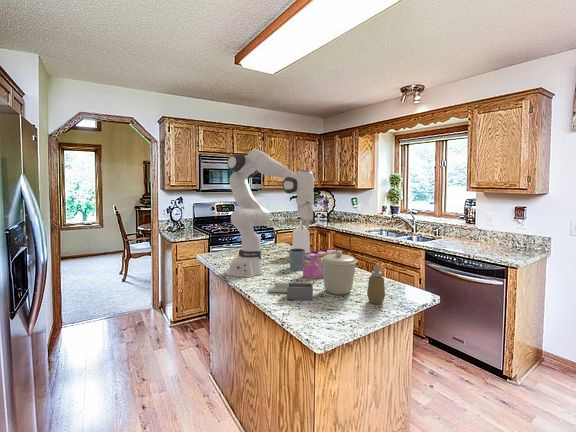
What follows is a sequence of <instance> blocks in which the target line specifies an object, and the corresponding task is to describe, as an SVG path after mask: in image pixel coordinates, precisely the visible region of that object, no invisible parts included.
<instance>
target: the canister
mask: <svg viewBox="0 0 576 432" xmlns="http://www.w3.org/2000/svg"><path fill="white" fill-rule="evenodd" d="M321 261H322V269H323V276H322V278H323V285H324V289H325V291H326V292H327V293H329V294H331V295H340V296H341V295H347V294H349V293H351V291H352V289H353V285H354V284H353V283H354V279H355V272H356V271H355V270H356V264H357V263H358V260H357V259H356V258H355V257H353V256H351V255H348V254H343V251H342V250H338V249H337V250H336V252H335V254H331V255H326V256H324V257H322V258H321Z"/></svg>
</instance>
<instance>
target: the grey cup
mask: <svg viewBox="0 0 576 432" xmlns="http://www.w3.org/2000/svg"><path fill="white" fill-rule="evenodd" d="M303 253H305V250H304V249H298V248H297V249H292V248H289V250H288V255H289V269H290V270H291V271H303Z"/></svg>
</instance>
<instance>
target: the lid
mask: <svg viewBox="0 0 576 432" xmlns="http://www.w3.org/2000/svg"><path fill="white" fill-rule="evenodd" d="M288 283H292V282H291V281H278V280H277V281H276V280H274V283H273V284H271V285H270V288H269V289H268V292H269V293H286V294H287V285H288Z"/></svg>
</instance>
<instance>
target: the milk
mask: <svg viewBox="0 0 576 432" xmlns="http://www.w3.org/2000/svg"><path fill="white" fill-rule="evenodd" d="M310 234H311V233H310V232H309V231H308V228H306V227H305V226H302V225H301V220H299V225H297V227H296V228H294V229H293V231H292V248H291V249H297V248H298V249H304V250H305V253H309V252H311V238H310V236H311V235H310Z"/></svg>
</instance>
